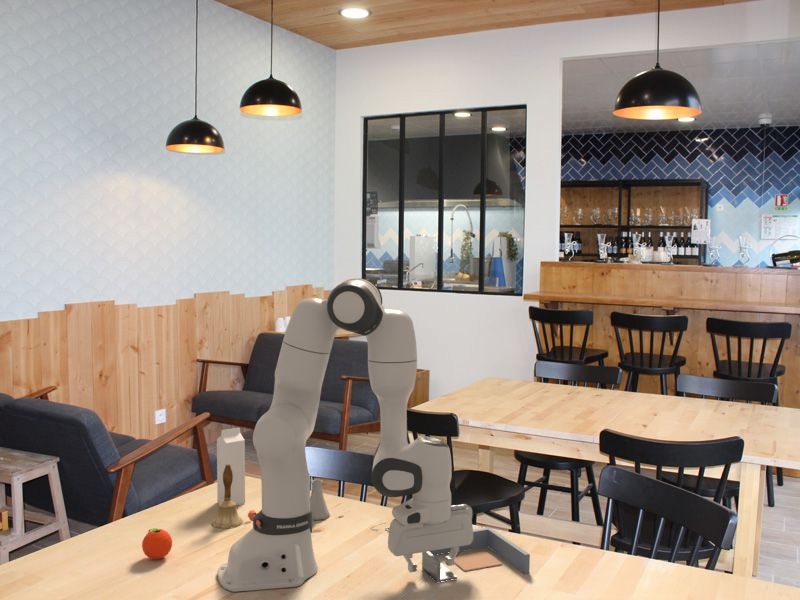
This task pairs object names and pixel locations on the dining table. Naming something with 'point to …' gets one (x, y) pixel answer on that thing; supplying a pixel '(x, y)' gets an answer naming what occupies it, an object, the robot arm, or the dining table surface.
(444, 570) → the angle bracket
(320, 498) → the flask
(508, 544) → the grey l-shaped piece
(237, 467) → the milk
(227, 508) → the wooden handled brush
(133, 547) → the dining table surface
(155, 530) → the clementine
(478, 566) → the mat
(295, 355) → the robot arm
